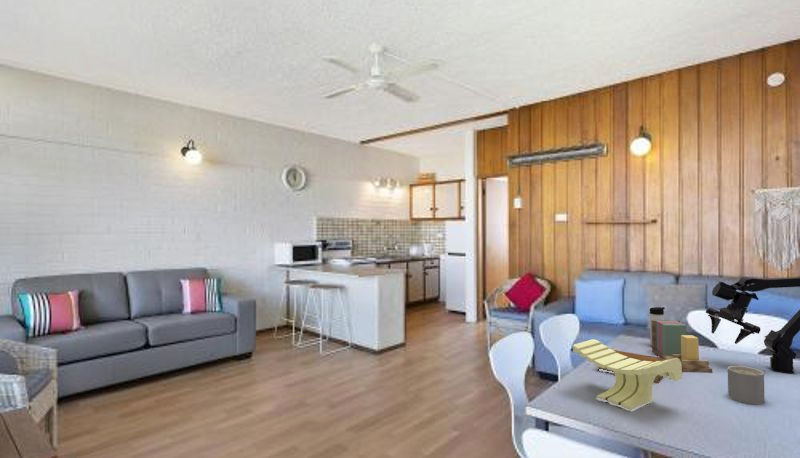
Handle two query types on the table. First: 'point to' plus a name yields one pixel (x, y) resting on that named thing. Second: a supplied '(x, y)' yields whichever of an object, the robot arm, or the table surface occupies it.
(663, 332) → the book row
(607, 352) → the slatted curved stool
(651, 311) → the travel mug
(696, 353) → the pale yellow cuboid
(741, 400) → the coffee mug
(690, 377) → the table surface
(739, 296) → the robot arm
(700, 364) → the shelf slot board
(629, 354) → the diary
